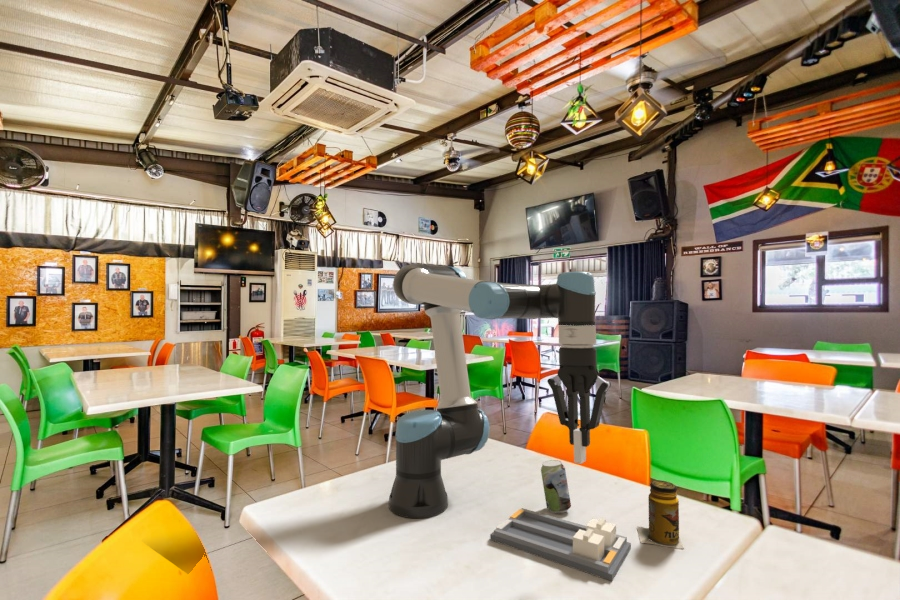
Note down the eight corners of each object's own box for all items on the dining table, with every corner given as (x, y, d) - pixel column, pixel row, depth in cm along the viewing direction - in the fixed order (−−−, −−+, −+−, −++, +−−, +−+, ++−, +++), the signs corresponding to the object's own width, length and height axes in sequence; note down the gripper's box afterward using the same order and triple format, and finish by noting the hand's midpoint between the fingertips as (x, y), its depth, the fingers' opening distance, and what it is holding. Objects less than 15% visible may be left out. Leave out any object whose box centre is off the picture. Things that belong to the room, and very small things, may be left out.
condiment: (683, 549, 94) (683, 491, 94) (640, 543, 96) (639, 487, 97) (677, 533, 101) (676, 479, 101) (637, 527, 103) (636, 475, 104)
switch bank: (490, 539, 98) (490, 528, 98) (519, 516, 109) (519, 506, 109) (612, 581, 83) (612, 568, 83) (630, 548, 94) (630, 537, 94)
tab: (572, 555, 89) (572, 533, 89) (579, 546, 92) (579, 525, 92) (598, 563, 86) (598, 540, 86) (604, 554, 89) (604, 532, 89)
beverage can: (571, 517, 109) (571, 467, 109) (541, 514, 110) (540, 465, 111) (570, 506, 115) (569, 459, 115) (541, 503, 116) (540, 457, 117)
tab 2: (586, 542, 94) (586, 521, 94) (592, 535, 97) (592, 514, 97) (610, 550, 91) (610, 528, 91) (616, 542, 94) (616, 520, 94)
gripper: (540, 346, 94) (542, 460, 93) (603, 348, 86) (606, 472, 85) (555, 344, 100) (557, 451, 99) (614, 346, 92) (618, 462, 91)
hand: (580, 461), depth 92 cm, fingers closed
